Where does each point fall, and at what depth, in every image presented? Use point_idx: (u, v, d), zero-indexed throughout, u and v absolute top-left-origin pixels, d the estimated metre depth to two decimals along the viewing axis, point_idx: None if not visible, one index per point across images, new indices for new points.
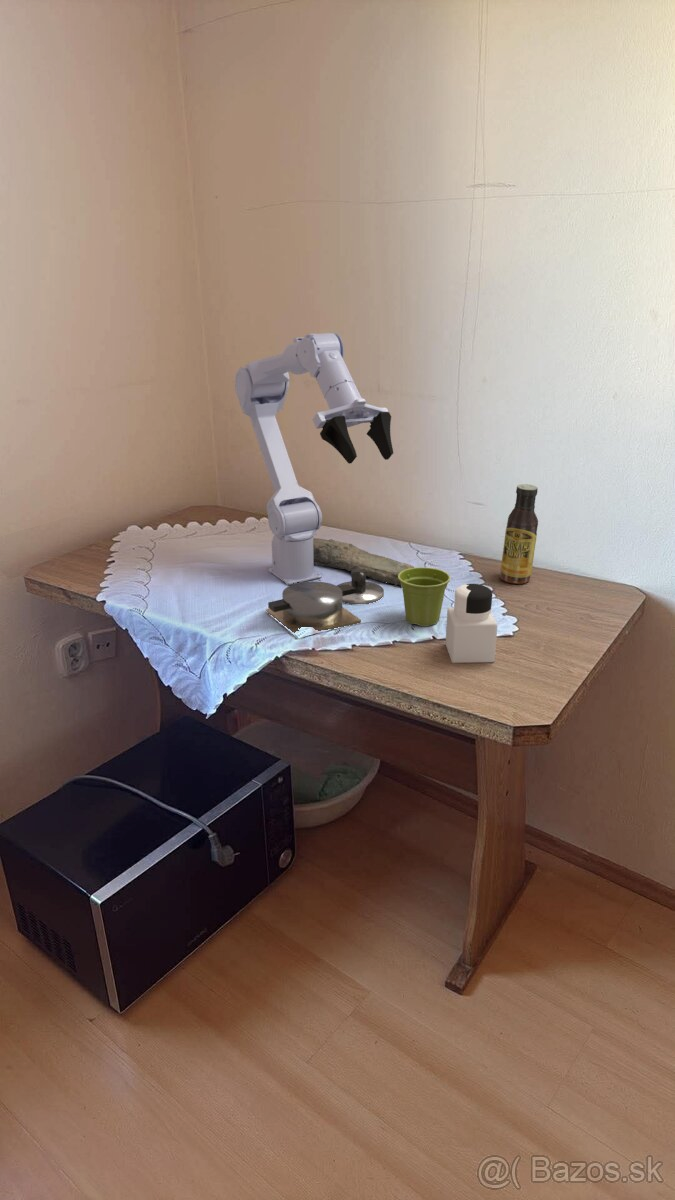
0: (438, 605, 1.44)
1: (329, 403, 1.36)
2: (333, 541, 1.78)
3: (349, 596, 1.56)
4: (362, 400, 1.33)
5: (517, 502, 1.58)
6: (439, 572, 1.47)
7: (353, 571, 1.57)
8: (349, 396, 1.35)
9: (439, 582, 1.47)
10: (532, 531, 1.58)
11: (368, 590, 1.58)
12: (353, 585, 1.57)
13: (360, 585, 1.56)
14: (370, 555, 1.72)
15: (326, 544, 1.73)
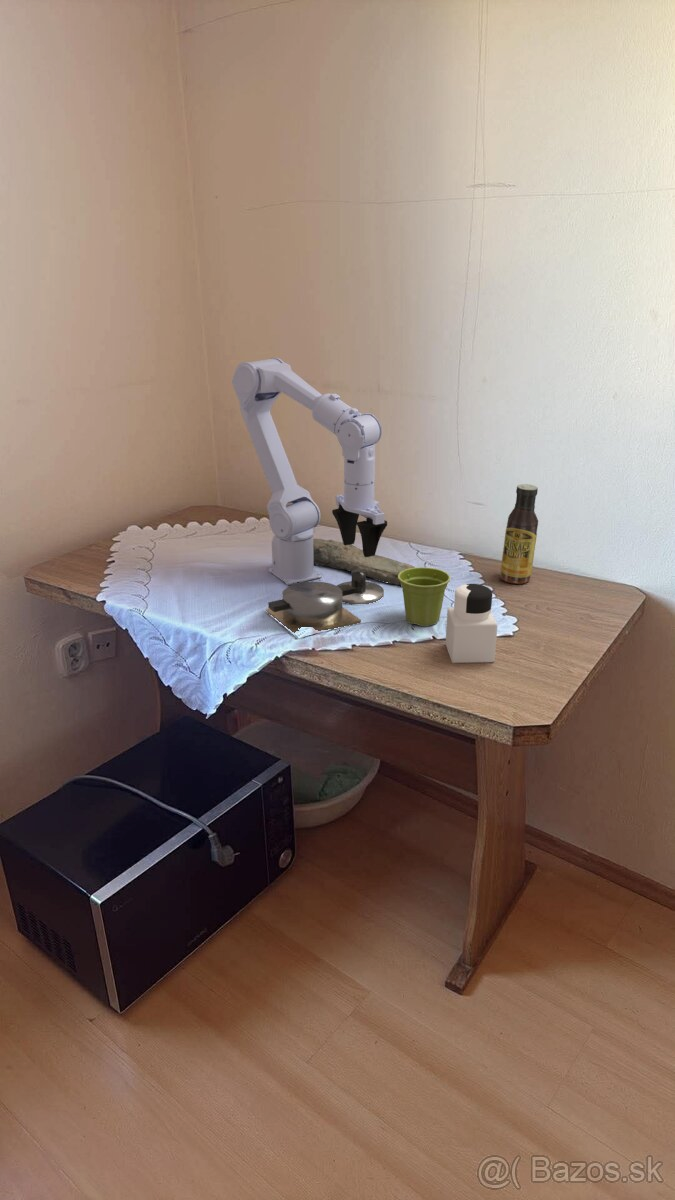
0: (438, 605, 1.44)
1: (364, 494, 1.48)
2: (333, 541, 1.78)
3: (349, 596, 1.56)
4: None
5: (517, 502, 1.58)
6: (439, 572, 1.47)
7: (353, 571, 1.57)
8: None
9: (439, 582, 1.47)
10: (532, 531, 1.58)
11: (368, 590, 1.58)
12: (353, 585, 1.57)
13: (360, 585, 1.56)
14: None
15: (326, 544, 1.73)
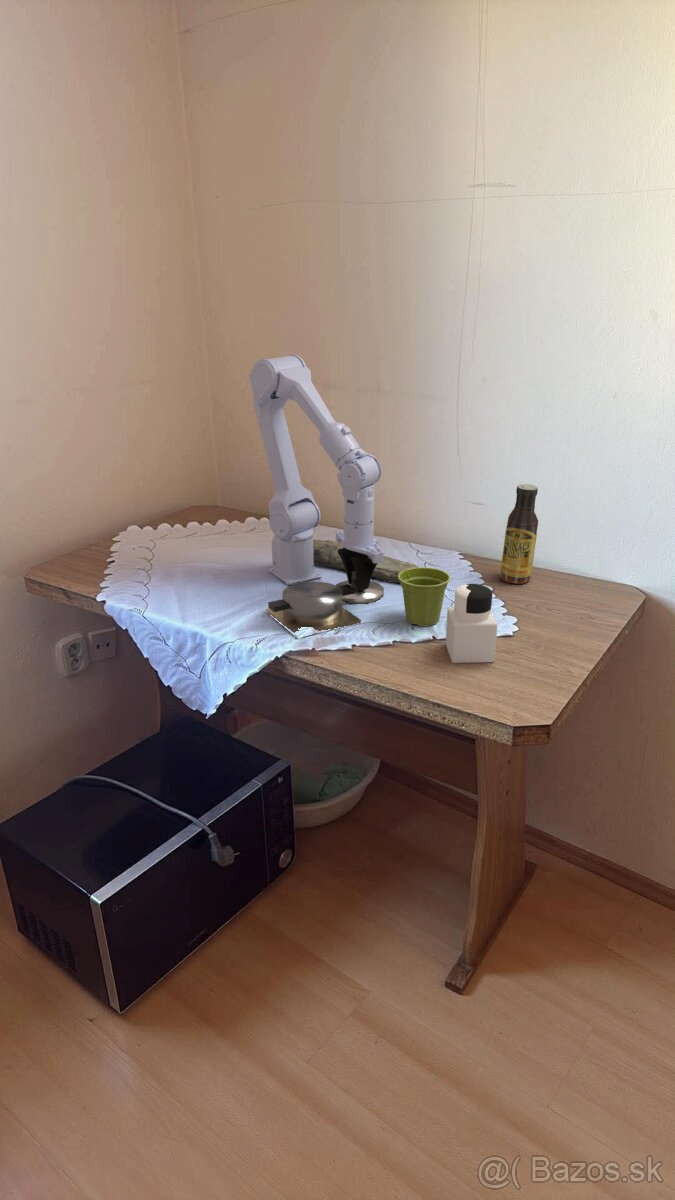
0: (438, 605, 1.44)
1: (364, 533, 1.51)
2: (331, 542, 1.78)
3: (349, 595, 1.56)
4: None
5: (517, 502, 1.58)
6: (439, 572, 1.47)
7: (353, 570, 1.57)
8: None
9: (439, 582, 1.47)
10: (532, 530, 1.58)
11: (368, 589, 1.58)
12: (353, 584, 1.57)
13: None
14: None
15: (325, 545, 1.72)
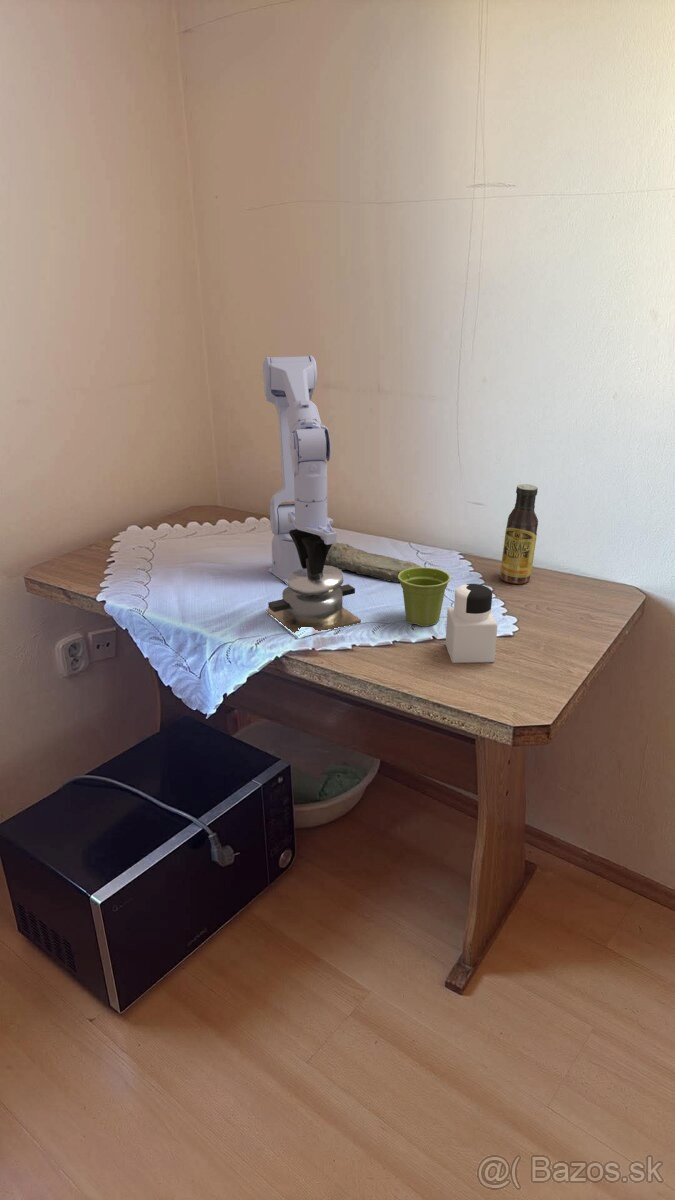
0: (438, 605, 1.44)
1: (315, 511, 1.38)
2: None
3: (305, 584, 1.43)
4: None
5: (517, 502, 1.58)
6: (439, 572, 1.47)
7: (307, 557, 1.44)
8: None
9: (439, 582, 1.47)
10: (532, 530, 1.58)
11: (325, 575, 1.46)
12: (309, 572, 1.44)
13: None
14: (369, 554, 1.72)
15: None
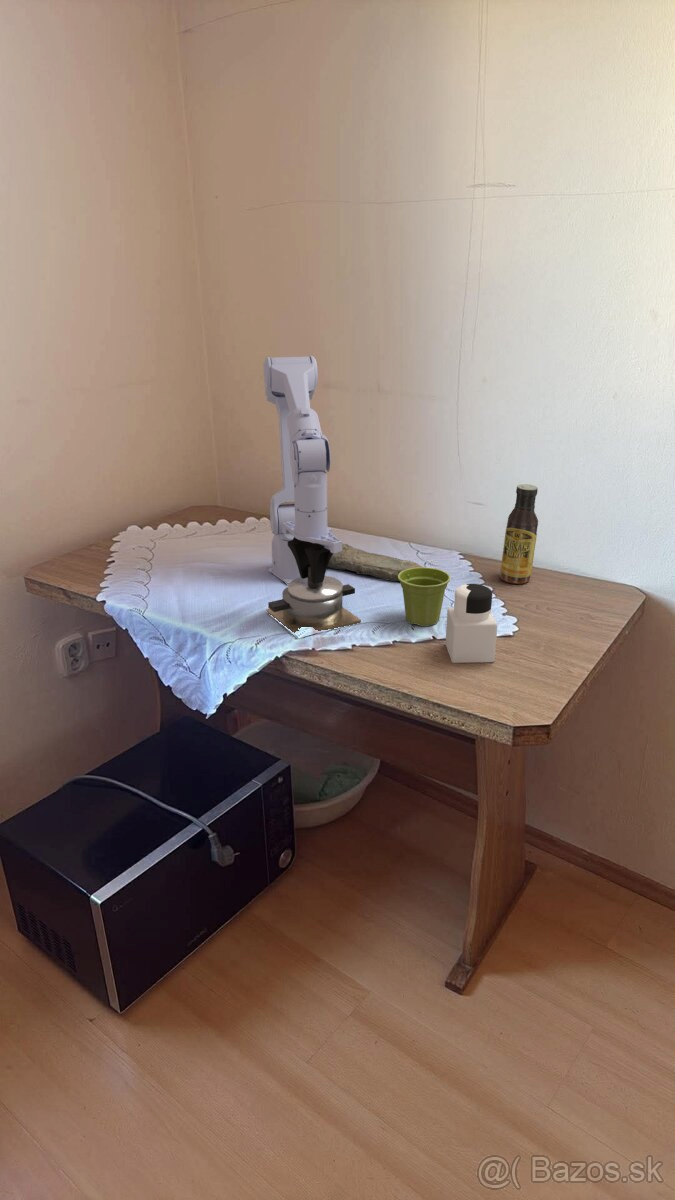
0: (438, 605, 1.44)
1: (318, 521, 1.39)
2: None
3: (308, 592, 1.44)
4: None
5: (517, 502, 1.58)
6: (439, 572, 1.47)
7: (309, 565, 1.45)
8: None
9: (439, 582, 1.47)
10: (532, 531, 1.58)
11: (325, 584, 1.47)
12: (310, 580, 1.45)
13: None
14: (369, 554, 1.72)
15: None
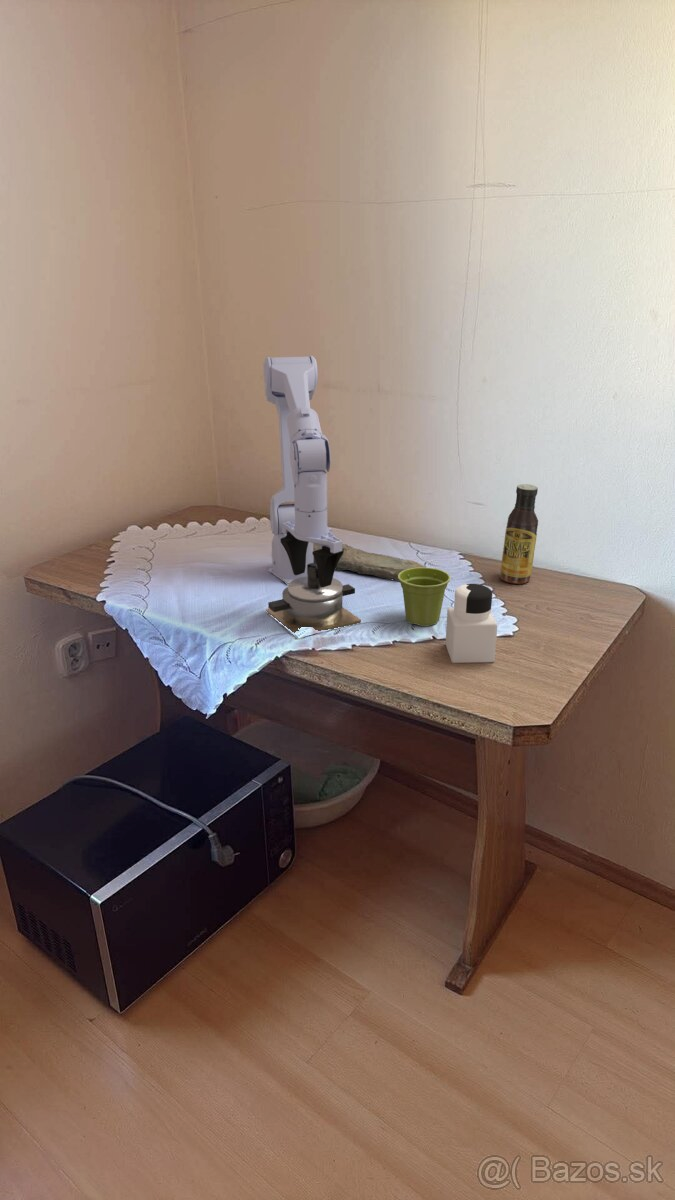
0: (438, 605, 1.44)
1: (318, 521, 1.39)
2: None
3: (308, 593, 1.44)
4: None
5: (517, 502, 1.58)
6: (439, 572, 1.47)
7: (309, 565, 1.45)
8: None
9: (439, 582, 1.47)
10: (532, 530, 1.58)
11: None
12: (310, 580, 1.45)
13: (318, 580, 1.45)
14: (369, 554, 1.73)
15: None
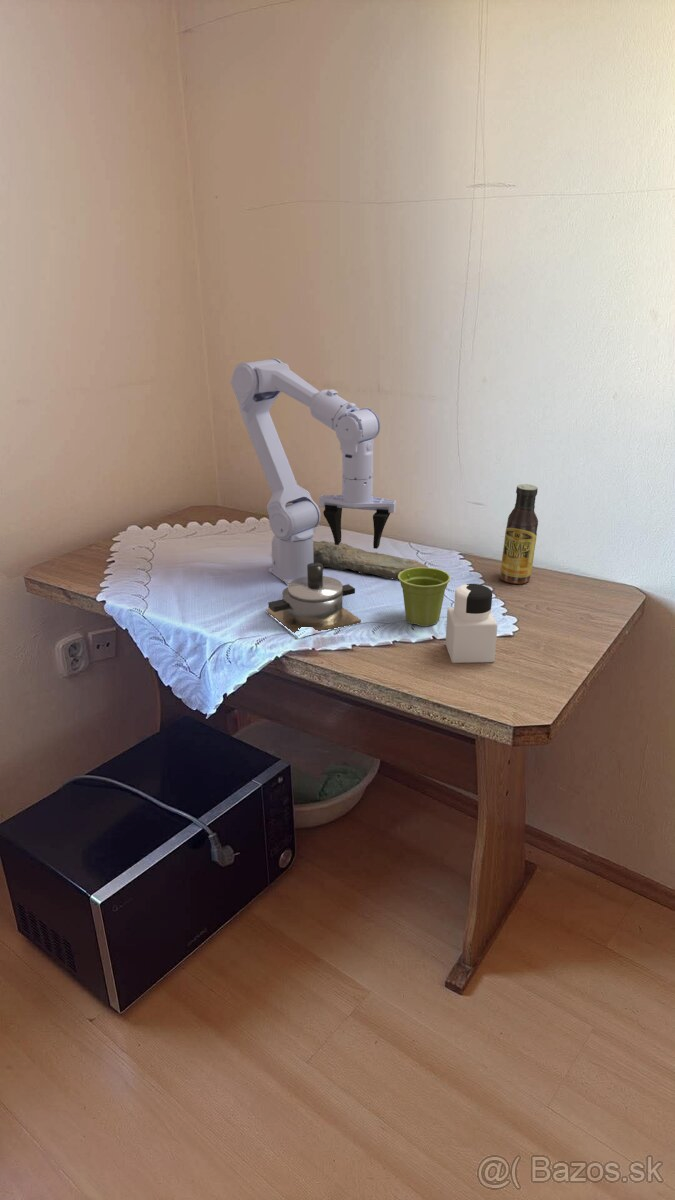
0: (438, 605, 1.44)
1: (371, 486, 1.48)
2: (326, 542, 1.77)
3: (308, 593, 1.44)
4: None
5: (517, 502, 1.58)
6: (439, 572, 1.47)
7: (309, 565, 1.45)
8: None
9: (439, 582, 1.47)
10: (532, 530, 1.58)
11: (325, 585, 1.47)
12: (310, 580, 1.45)
13: (318, 580, 1.45)
14: (369, 553, 1.73)
15: (325, 546, 1.72)
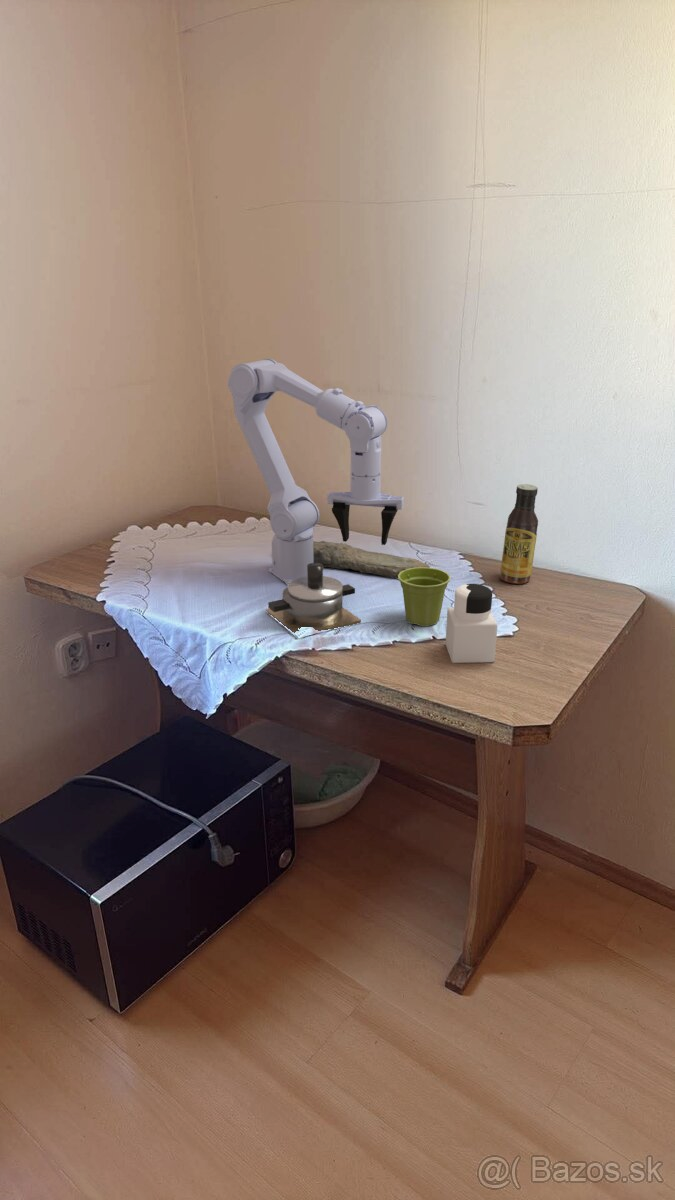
0: (438, 605, 1.44)
1: (379, 483, 1.50)
2: (326, 542, 1.78)
3: (308, 593, 1.44)
4: None
5: (517, 502, 1.58)
6: (439, 572, 1.47)
7: (309, 565, 1.45)
8: None
9: (439, 582, 1.47)
10: (532, 530, 1.58)
11: (325, 585, 1.47)
12: (310, 580, 1.45)
13: (318, 580, 1.45)
14: (370, 553, 1.73)
15: (325, 546, 1.72)
